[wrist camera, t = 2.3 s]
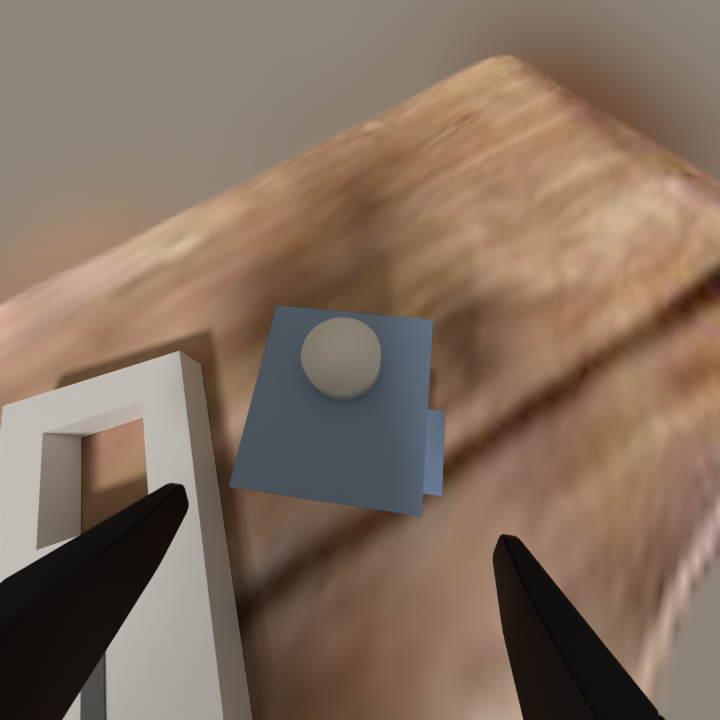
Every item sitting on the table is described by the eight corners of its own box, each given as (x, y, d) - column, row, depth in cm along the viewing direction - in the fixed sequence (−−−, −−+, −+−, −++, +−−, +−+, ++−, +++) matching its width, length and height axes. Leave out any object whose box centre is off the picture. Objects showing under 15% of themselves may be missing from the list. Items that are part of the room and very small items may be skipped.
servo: (431, 496, 18) (555, 541, 5) (287, 475, 19) (108, 471, 6) (435, 418, 19) (537, 311, 7) (302, 401, 20) (184, 281, 8)
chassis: (258, 758, 14) (233, 816, 12) (20, 854, 14) (-58, 937, 11) (200, 364, 22) (178, 350, 19) (44, 414, 21) (1, 405, 18)
